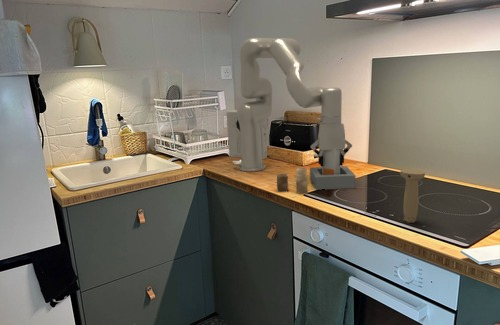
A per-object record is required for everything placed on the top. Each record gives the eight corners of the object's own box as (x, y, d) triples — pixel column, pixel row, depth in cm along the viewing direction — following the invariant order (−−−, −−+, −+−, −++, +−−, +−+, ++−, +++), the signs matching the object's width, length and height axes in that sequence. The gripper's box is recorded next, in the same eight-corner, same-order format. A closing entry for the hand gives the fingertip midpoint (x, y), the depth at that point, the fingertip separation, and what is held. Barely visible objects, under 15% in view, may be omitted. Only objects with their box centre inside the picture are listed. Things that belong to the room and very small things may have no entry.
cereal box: (270, 156, 205) (268, 110, 200) (263, 159, 199) (261, 111, 193) (236, 153, 216) (233, 110, 210) (229, 156, 210) (226, 111, 204)
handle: (402, 216, 115) (404, 168, 111) (424, 220, 111) (427, 171, 107) (395, 221, 111) (397, 172, 108) (418, 226, 107) (421, 175, 104)
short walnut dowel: (277, 192, 144) (277, 176, 143) (277, 188, 148) (276, 174, 147) (288, 191, 144) (287, 176, 143) (287, 188, 148) (287, 173, 147)
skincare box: (321, 176, 151) (321, 147, 148) (327, 174, 154) (327, 145, 151) (335, 179, 147) (335, 149, 144) (340, 176, 150) (341, 147, 147)
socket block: (315, 189, 144) (315, 177, 143) (310, 179, 159) (310, 167, 158) (355, 188, 144) (355, 175, 143) (346, 177, 158) (346, 165, 157)
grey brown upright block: (297, 194, 141) (296, 170, 138) (295, 190, 144) (295, 168, 142) (307, 193, 140) (307, 170, 138) (306, 190, 144) (306, 167, 142)
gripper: (309, 122, 142) (310, 168, 146) (356, 120, 142) (355, 166, 146) (307, 120, 149) (307, 163, 154) (351, 118, 149) (350, 162, 153)
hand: (331, 164), depth 150 cm, fingers closed on skincare box, 7 cm apart
